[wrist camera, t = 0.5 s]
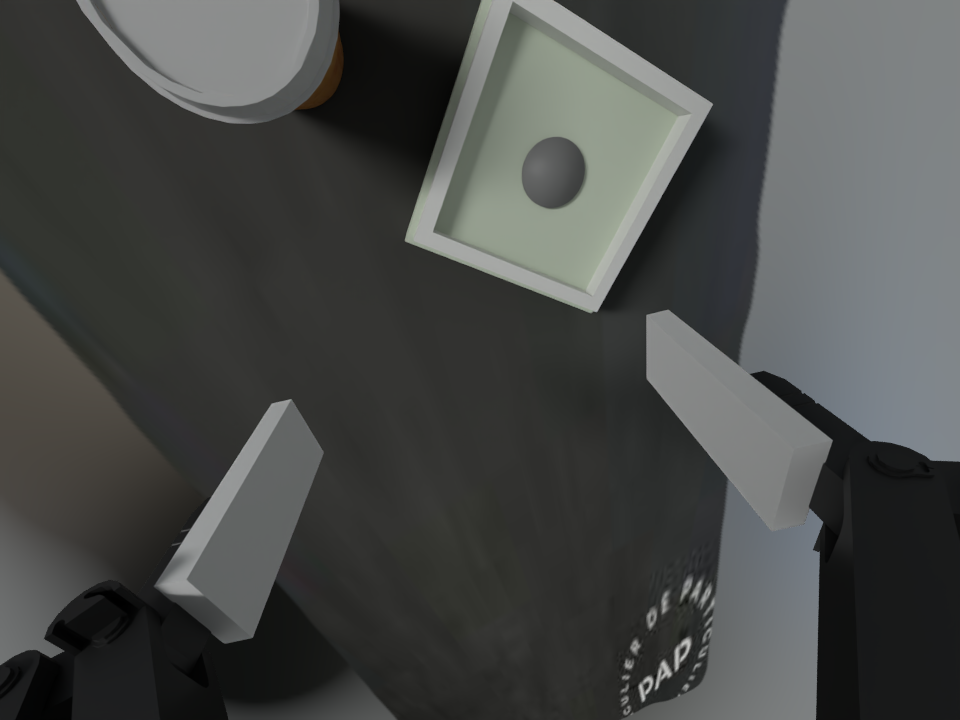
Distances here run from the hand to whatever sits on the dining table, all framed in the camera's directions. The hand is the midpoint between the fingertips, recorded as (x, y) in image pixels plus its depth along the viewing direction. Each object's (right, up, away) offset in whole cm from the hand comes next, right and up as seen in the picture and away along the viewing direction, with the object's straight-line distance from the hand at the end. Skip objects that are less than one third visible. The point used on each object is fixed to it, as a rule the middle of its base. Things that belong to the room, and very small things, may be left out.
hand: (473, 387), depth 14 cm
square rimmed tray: (+5, +15, +15) cm, 22 cm away
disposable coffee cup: (-12, +21, +10) cm, 26 cm away
